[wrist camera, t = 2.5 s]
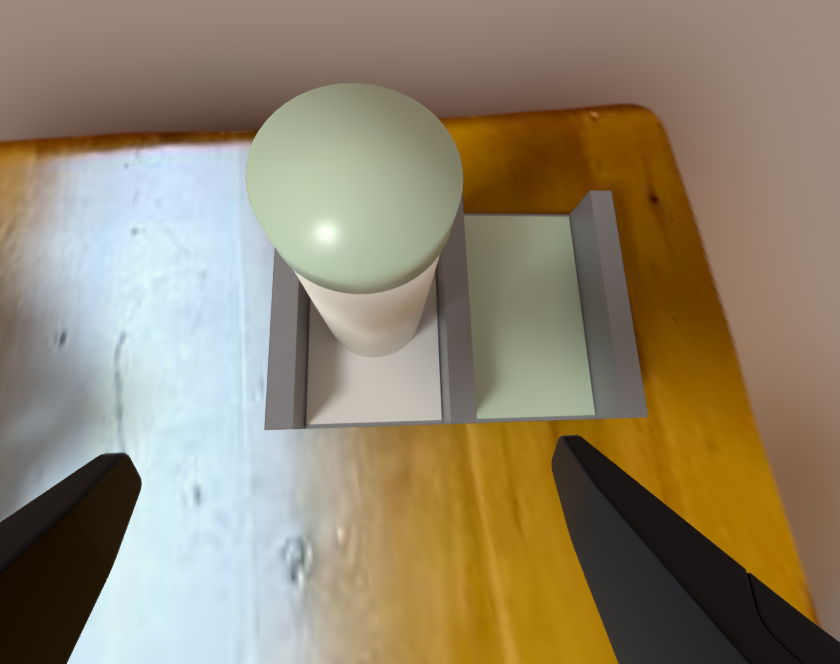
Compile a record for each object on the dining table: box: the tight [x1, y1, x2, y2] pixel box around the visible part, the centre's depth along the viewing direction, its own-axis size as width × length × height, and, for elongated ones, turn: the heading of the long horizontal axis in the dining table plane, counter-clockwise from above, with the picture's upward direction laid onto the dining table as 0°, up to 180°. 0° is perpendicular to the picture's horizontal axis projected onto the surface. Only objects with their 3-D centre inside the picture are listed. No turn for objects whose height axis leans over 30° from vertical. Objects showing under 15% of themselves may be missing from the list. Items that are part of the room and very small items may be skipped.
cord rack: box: [264, 191, 648, 430], centre depth 21 cm, size 12×18×4 cm
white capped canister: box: [245, 83, 463, 358], centre depth 15 cm, size 5×5×12 cm
